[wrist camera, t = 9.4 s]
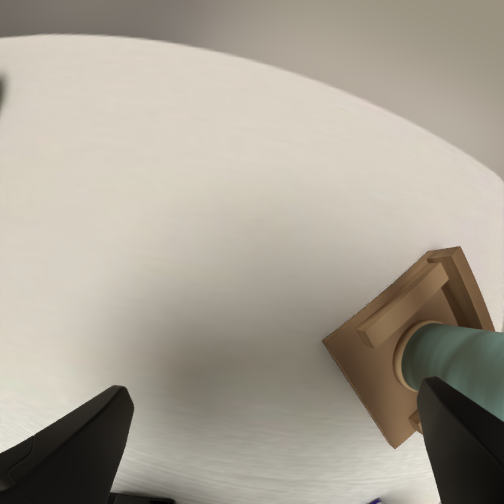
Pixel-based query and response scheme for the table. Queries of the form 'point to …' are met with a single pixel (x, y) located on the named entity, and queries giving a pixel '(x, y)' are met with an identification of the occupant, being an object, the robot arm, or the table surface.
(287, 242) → the table surface
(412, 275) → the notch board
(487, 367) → the oak spool
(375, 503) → the supplement box
